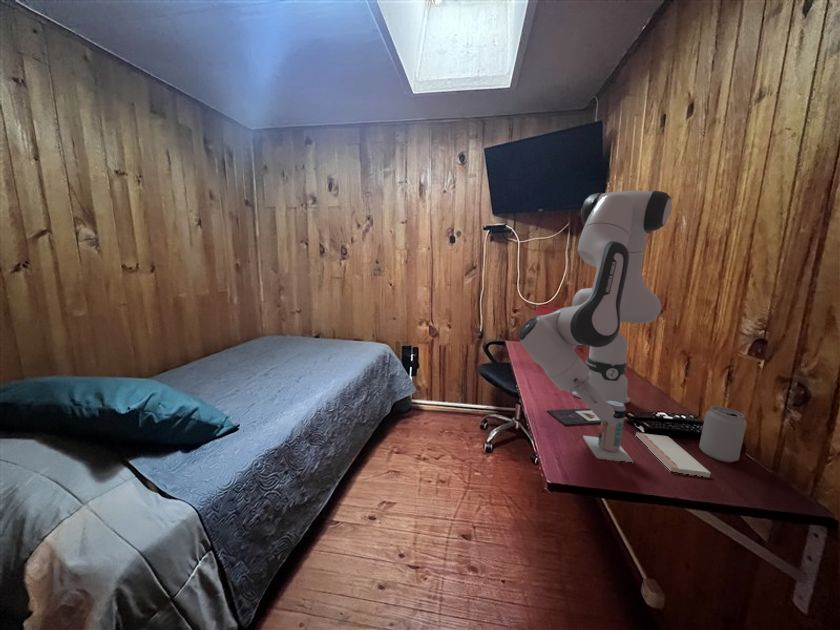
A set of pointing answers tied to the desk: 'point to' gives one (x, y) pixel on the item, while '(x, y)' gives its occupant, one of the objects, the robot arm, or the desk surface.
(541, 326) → the robot arm
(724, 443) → the can
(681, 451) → the board
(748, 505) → the desk surface
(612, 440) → the jar with lid
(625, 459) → the mat
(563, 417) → the chocolate bar
